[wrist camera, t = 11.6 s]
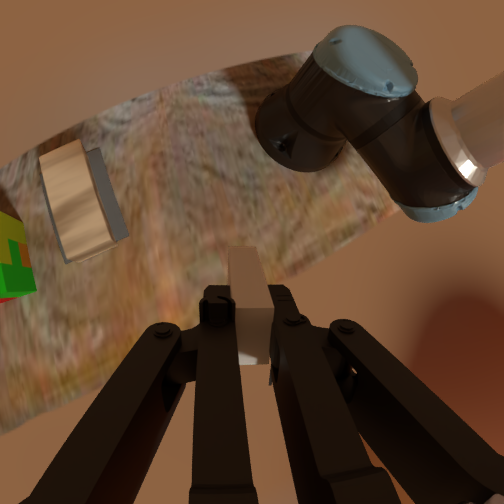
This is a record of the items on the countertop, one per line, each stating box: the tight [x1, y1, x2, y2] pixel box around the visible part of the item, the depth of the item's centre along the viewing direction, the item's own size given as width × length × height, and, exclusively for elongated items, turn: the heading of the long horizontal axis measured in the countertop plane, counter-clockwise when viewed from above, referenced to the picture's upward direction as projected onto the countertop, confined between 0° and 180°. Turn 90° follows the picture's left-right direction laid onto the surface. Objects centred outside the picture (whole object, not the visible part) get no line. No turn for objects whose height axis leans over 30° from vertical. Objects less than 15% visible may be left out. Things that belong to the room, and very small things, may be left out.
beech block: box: [39, 139, 117, 263], centre depth 36 cm, size 6×6×14 cm
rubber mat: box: [40, 148, 129, 264], centre depth 39 cm, size 14×10×1 cm
